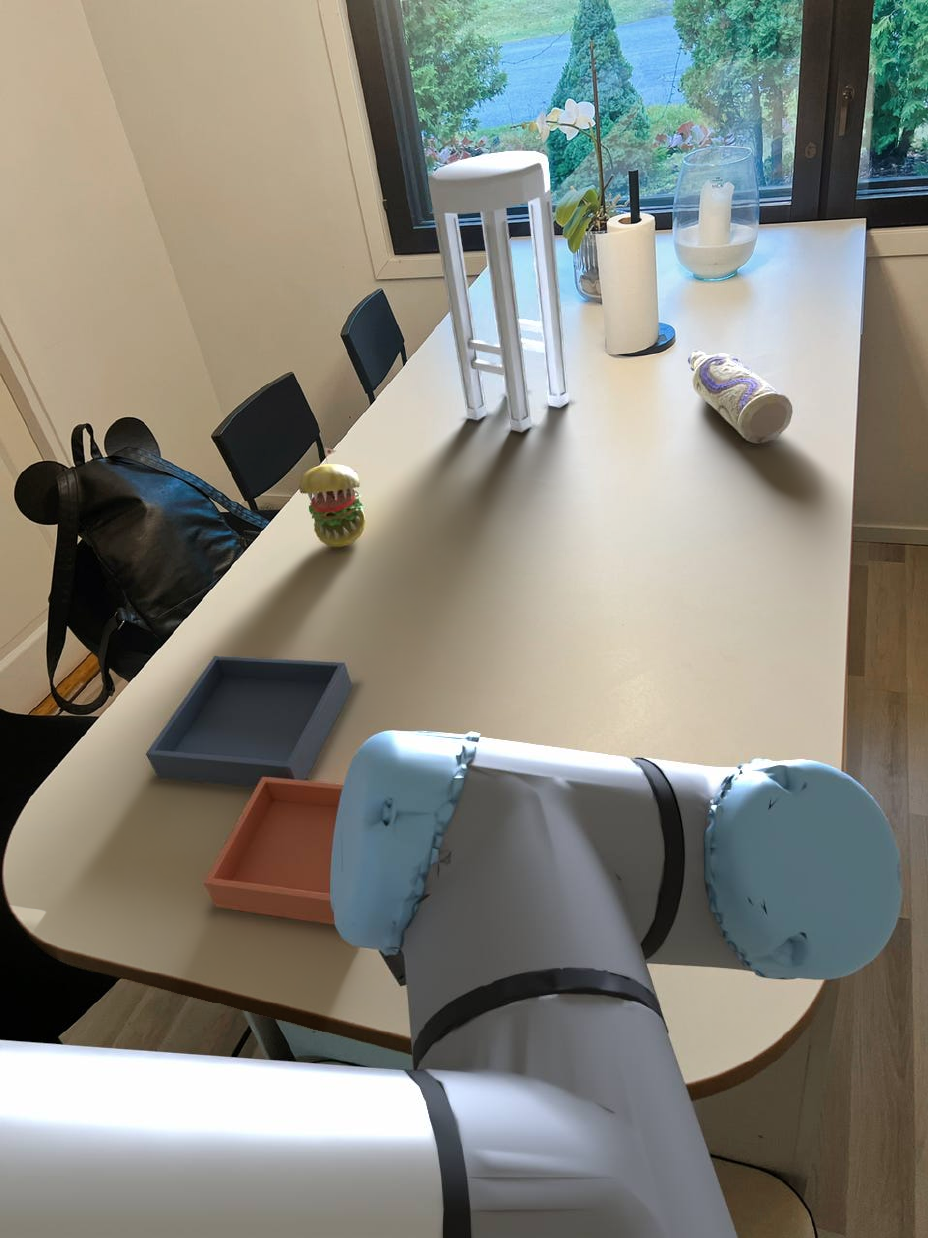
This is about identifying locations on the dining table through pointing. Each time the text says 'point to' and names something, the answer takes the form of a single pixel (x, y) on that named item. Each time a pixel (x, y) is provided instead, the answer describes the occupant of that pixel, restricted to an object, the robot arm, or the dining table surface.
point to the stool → (501, 275)
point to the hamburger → (334, 503)
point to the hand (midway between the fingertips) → (478, 868)
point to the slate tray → (252, 721)
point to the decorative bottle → (740, 396)
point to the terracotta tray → (280, 852)
